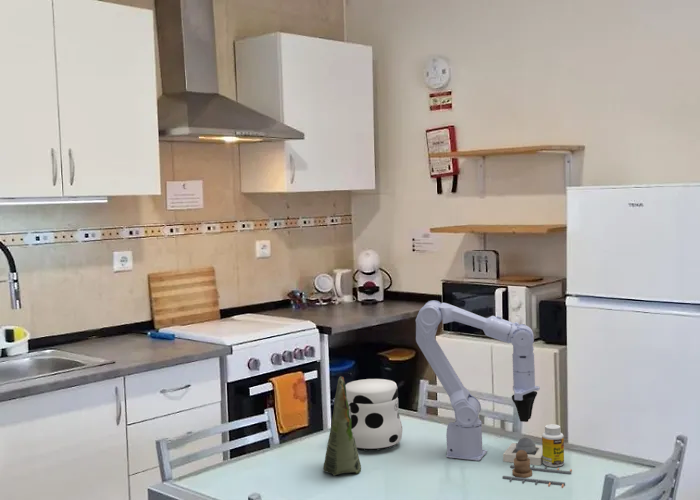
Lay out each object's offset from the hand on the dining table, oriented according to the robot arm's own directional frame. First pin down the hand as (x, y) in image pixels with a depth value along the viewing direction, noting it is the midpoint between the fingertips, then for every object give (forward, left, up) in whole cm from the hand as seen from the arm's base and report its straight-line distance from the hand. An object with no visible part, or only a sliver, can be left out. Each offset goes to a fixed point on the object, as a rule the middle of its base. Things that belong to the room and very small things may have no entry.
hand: (525, 419), depth 219 cm
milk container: (-44, -3, -11) cm, 45 cm away
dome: (0, 0, -10) cm, 10 cm away
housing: (0, 0, -10) cm, 10 cm away
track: (+6, -13, -10) cm, 18 cm away
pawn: (+2, -13, -11) cm, 17 cm away
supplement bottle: (+8, -3, -11) cm, 14 cm away
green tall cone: (-43, -25, -11) cm, 51 cm away
